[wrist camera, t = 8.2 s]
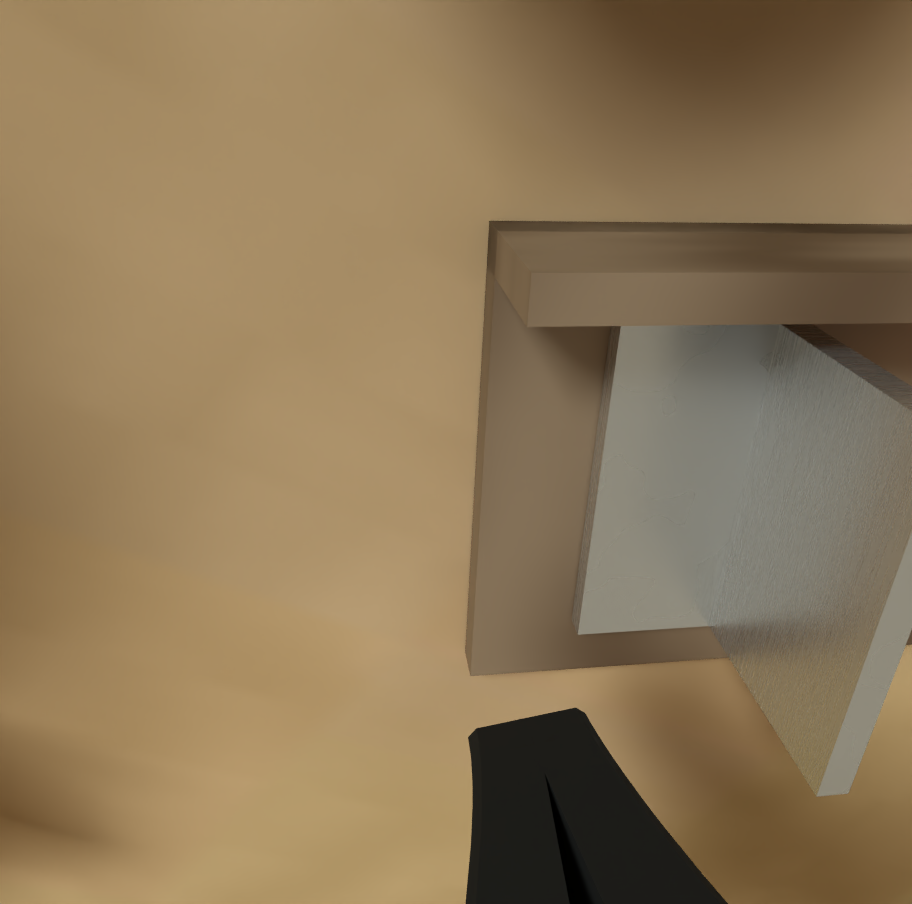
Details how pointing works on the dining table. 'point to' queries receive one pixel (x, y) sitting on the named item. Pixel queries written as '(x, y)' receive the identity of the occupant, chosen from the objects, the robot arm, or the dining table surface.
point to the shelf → (581, 382)
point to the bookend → (759, 520)
